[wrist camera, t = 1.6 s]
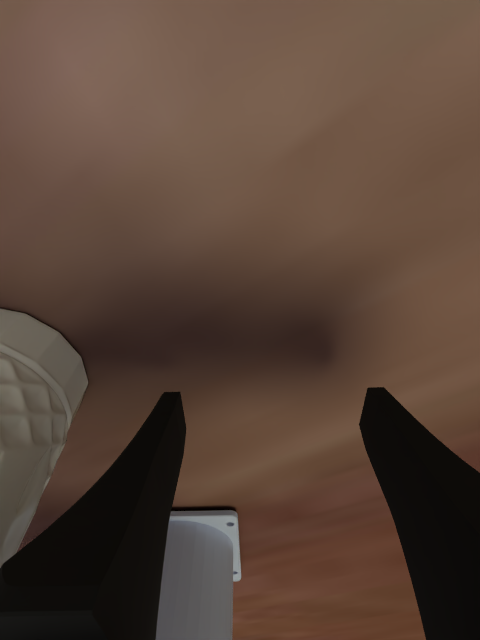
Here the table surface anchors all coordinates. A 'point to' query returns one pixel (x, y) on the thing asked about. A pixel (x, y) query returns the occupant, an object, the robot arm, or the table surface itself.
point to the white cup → (32, 416)
